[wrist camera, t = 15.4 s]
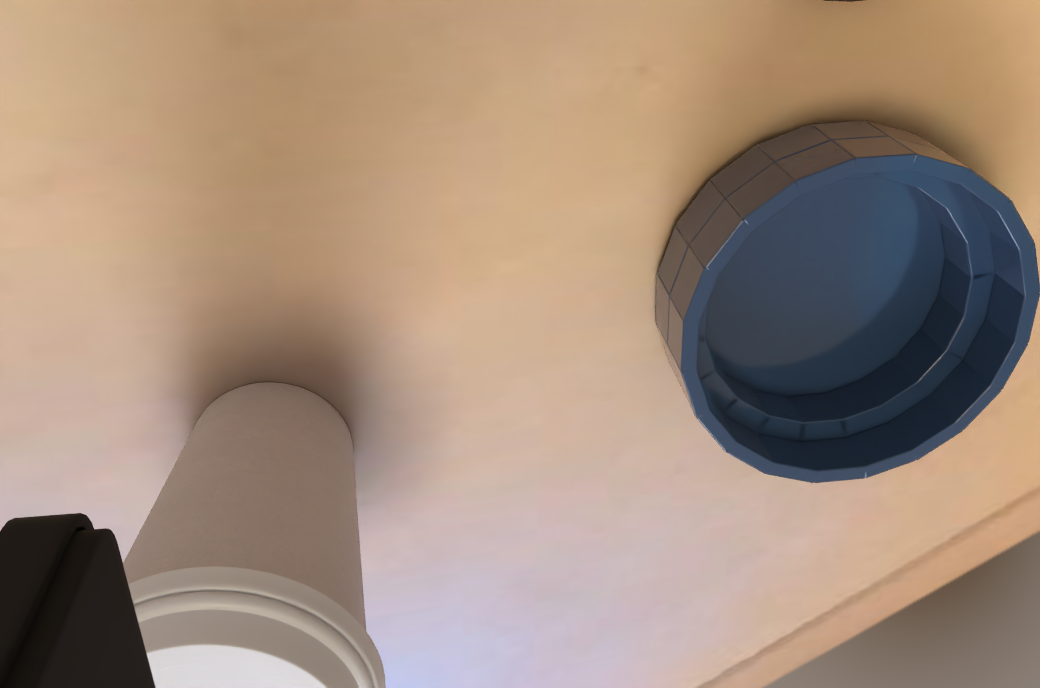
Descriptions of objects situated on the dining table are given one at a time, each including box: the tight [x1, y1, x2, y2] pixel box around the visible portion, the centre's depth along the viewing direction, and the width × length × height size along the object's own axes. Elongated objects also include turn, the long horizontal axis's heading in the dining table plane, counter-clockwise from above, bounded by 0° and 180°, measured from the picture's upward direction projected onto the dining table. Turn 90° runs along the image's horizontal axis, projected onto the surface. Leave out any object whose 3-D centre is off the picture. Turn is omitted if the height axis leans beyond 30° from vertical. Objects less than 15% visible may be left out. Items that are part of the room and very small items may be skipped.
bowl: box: [656, 121, 1040, 483], centre depth 38 cm, size 13×13×4 cm
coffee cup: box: [123, 382, 385, 688], centre depth 34 cm, size 10×10×15 cm
